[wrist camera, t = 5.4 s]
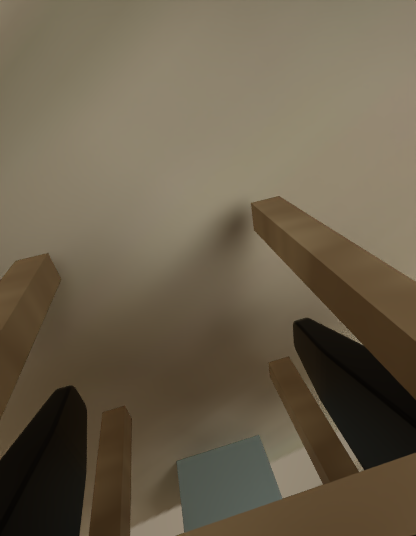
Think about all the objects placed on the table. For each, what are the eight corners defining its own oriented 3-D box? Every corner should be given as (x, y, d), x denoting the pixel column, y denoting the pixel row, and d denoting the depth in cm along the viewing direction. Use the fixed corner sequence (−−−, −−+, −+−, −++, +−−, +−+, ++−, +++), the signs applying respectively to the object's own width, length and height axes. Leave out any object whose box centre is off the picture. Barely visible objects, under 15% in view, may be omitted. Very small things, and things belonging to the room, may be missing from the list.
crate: (279, 196, 8) (707, 463, 2) (289, 370, 12) (459, 663, 6) (15, 261, 8) (-517, 940, 1) (110, 425, 11) (77, 826, 5)
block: (258, 433, 16) (303, 554, 12) (265, 476, 18) (304, 591, 14) (176, 459, 16) (191, 594, 11) (193, 499, 18) (211, 625, 14)
